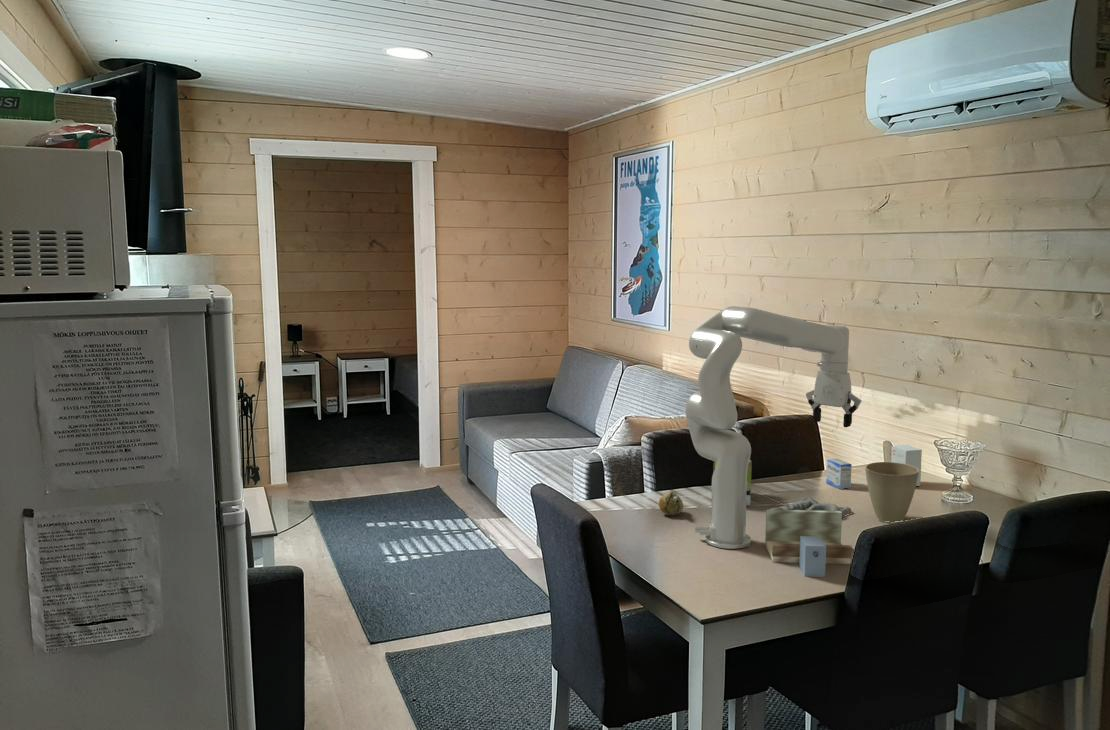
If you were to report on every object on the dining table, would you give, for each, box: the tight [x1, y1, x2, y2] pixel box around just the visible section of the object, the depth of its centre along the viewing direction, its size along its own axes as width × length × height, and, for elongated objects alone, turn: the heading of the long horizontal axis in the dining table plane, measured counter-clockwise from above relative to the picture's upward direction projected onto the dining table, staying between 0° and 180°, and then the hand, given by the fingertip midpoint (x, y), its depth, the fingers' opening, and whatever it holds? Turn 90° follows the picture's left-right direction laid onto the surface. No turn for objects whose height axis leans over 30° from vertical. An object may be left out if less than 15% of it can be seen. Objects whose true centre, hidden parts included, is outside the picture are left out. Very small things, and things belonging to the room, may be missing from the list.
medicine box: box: [825, 458, 853, 490], centre depth 283 cm, size 8×4×9 cm, turn 17°
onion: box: [658, 490, 684, 516], centre depth 255 cm, size 8×8×8 cm
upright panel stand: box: [764, 509, 853, 565], centre depth 221 cm, size 20×13×10 cm, turn 84°
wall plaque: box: [769, 496, 853, 518], centre depth 252 cm, size 24×19×4 cm
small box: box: [890, 444, 923, 487], centre depth 283 cm, size 8×6×13 cm
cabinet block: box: [799, 536, 827, 578], centre depth 209 cm, size 5×8×8 cm, turn 174°
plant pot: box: [864, 461, 919, 524], centre depth 247 cm, size 15×15×16 cm
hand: (831, 424), depth 246 cm, fingers open, 9 cm apart
